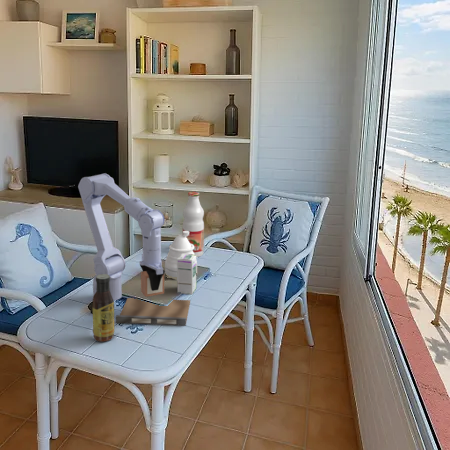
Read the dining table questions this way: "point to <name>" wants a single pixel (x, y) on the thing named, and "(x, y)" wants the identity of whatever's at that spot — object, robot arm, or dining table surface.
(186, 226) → the fruit juice
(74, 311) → the dining table surface
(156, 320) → the brown wooden pallet
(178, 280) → the syrup box
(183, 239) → the honey pot
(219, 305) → the dining table surface
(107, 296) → the sauce bottle
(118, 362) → the dining table surface
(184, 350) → the dining table surface
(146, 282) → the tea tin
